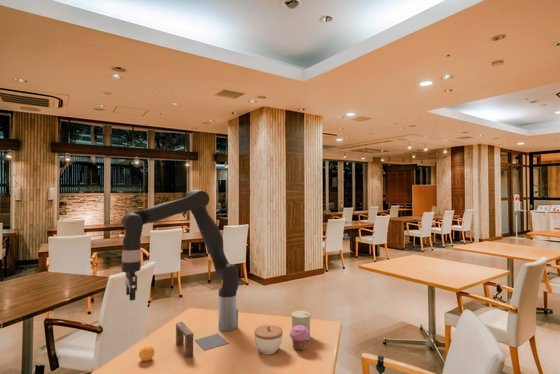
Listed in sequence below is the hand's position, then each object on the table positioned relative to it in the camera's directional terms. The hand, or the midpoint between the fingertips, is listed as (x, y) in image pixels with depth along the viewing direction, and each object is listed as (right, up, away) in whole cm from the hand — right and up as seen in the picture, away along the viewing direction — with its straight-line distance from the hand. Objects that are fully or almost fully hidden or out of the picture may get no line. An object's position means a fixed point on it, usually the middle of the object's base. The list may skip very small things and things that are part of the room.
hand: (130, 297), depth 140 cm
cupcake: (+74, -26, +8) cm, 78 cm away
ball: (+8, -23, -3) cm, 24 cm away
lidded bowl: (+59, -26, +6) cm, 65 cm away
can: (+75, -26, +18) cm, 81 cm away
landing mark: (+32, -26, +13) cm, 43 cm away
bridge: (+21, -26, +6) cm, 34 cm away
